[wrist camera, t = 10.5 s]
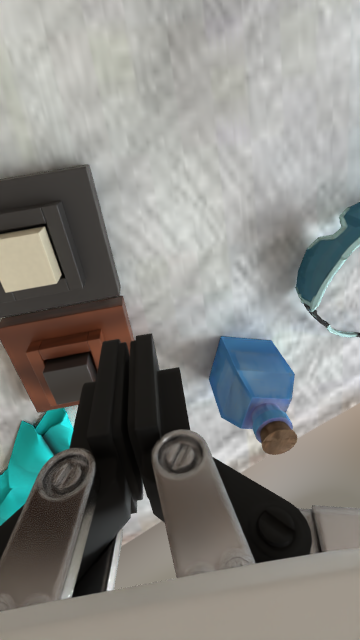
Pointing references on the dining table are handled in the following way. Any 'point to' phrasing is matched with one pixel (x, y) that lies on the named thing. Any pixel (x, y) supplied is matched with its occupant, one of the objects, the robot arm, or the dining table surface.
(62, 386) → the ebony key
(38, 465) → the cloth
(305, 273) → the sunglasses
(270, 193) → the dining table surface
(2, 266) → the ivory key
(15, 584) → the robot arm
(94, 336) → the brown stepped socket base
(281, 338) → the dining table surface
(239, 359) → the perfume bottle
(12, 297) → the dark grey socket base
